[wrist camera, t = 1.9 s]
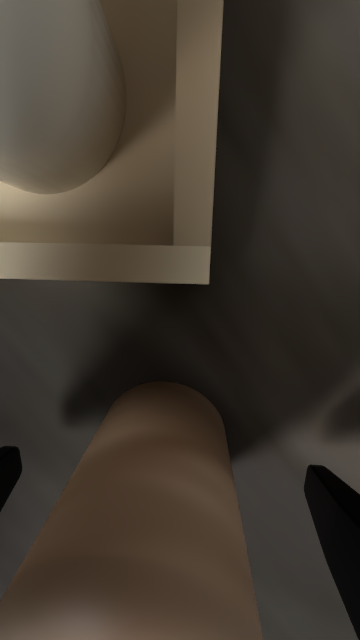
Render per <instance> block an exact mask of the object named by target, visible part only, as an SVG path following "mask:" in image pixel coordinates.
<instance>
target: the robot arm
mask: <svg viewBox="0 0 360 640" xmlns="http://www.w3.org/2000/svg"><path fill="white" fill-rule="evenodd" d="M21 472H22V463H21V457H20V451H19V448H18V447H16V446H3V447H1V448H0V512H1V510H2V508H3V506H4V504H5V503H6V501H7V499H8V497H9V495H10V494H11V492H12V490H13V488H14V486H15V485H16V483H17V481H18V479H19V477H20V475H21ZM304 492H305V497H306V500H307V503H308V506H309V509H310V512H311V515H312V518H313V522H314V525H315V528H316V531H317V534H318V537H319V540H320V544H321V547H322V550H323V553H324V556H325V558H326V561H327V564H328V566H329V569H330V571H331V574H332V576H333V579H334V581H335V584H336V586H337V588H338V591H339V593H340V596H341V598H342V601H343V603H344V605H345V608H346V610H347V613H348V615H349V618H350V620H351V622H352V625H353V627H354V630H355V632H356V635H357V637H358V639H359V640H360V494H358V493H357V492H356V491H355V490H353V489H352V488H351V487H350V486H348V485H347V484H346V483H345V482H344V481H342V480H341V479H340V478H339V477H337V476H336V475H335V474H334V473H332V472H331V471H330V470H329V469H327V468H326V467H325V466H322V465H309V466H308V468H307V473H306V478H305V484H304Z"/></svg>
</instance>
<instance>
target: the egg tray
mask: <svg viewBox="0 0 360 640" xmlns="http://www.w3.org/2000/svg"><path fill="white" fill-rule="evenodd" d="M223 1H224V0H100V3H101V6H102V8H103V11H104V14H105V17H106V20H107V22H108V25H109V28H110V31H111V33H112V36H113V39H114V42H115V44H116V47H117V50H118V53H119V56H120V60H121V63H122V67H123V72H124V77H125V87H126V110H125V117H124V123H123V127H122V131H121V135H120V138H119V140H118V143H117V145H116V148H115V149H114V151H113V153H112V155H111V157H110V158H109V160H108V161H107V163H106V164H105V165H104V167H103V168H102V169H101V170H100V171H99V172H98V173H97V174H96V175H95V176H94V177H93V178H92V179H90V180H89V181H88V182H86V183H85V184H83V185H81V186H79V187H78V188H75V189H73V190H70V191H67V192H63V193H59V194H47V195H46V194H35V193H31V192H26V191H23V190H21V189H18V188H15V187H13V186H10V185H8V184H5V183H3V182H0V278H4V279H39V280H73V281H108V282H143V283H178V284H209V273H210V254H211V234H212V215H213V195H214V176H215V157H216V137H217V118H218V98H219V79H220V60H221V40H222V21H223Z"/></svg>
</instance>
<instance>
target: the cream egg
mask: <svg viewBox="0 0 360 640" xmlns="http://www.w3.org/2000/svg"><path fill="white" fill-rule="evenodd" d="M125 110H126V87H125V77H124V72H123V67H122V63H121V60H120V56H119V53H118V50H117V47H116V44H115V42H114V39H113V36H112V33H111V31H110V28H109V25H108V22H107V20H106V17H105V14H104V11H103V8H102V6H101V3H100V0H0V182H3V183H5V184H8V185H10V186H13V187H15V188H18V189H21V190H23V191H26V192H31V193H35V194H46V195H47V194H59V193H63V192H67V191H70V190H73V189H75V188H78V187H79V186H81V185H83V184H85V183H86V182H88V181H89V180H90V179H92V178H93V177H94V176H95V175H96V174H97V173H98V172H99V171H100V170H101V169H102V168H103V167H104V165H105V164H106V163H107V161H108V160H109V158H110V157H111V155H112V153H113V151H114V149H115V148H116V145H117V143H118V140H119V138H120V135H121V131H122V127H123V123H124V117H125Z"/></svg>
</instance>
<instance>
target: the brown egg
mask: <svg viewBox="0 0 360 640" xmlns="http://www.w3.org/2000/svg"><path fill="white" fill-rule="evenodd" d="M0 640H263V636H262V631H261V626H260V620H259V615H258V609H257V604H256V598H255V593H254V587H253V582H252V576H251V571H250V565H249V560H248V554H247V549H246V543H245V538H244V532H243V527H242V521H241V516H240V510H239V505H238V499H237V494H236V488H235V483H234V477H233V472H232V466H231V461H230V455H229V450H228V444H227V439H226V433H225V428H224V424H223V421H222V418H221V416H220V414H219V412H218V411H217V409H216V408H215V406H214V405H213V404H212V403H211V402H210V401H209V400H208V399H207V398H206V397H205V396H204V395H202V394H201V393H199V392H198V391H196V390H194V389H192V388H190V387H188V386H185V385H182V384H178V383H174V382H166V381H155V382H148V383H144V384H140V385H138V386H135V387H133V388H131V389H129V390H127V391H126V392H124V393H123V394H122V395H120V396H119V397H118V398H117V399H116V400H115V402H114V403H113V404H112V406H111V407H110V409H109V411H108V412H107V414H106V416H105V418H104V419H103V421H102V423H101V425H100V427H99V428H98V430H97V432H96V434H95V435H94V437H93V439H92V441H91V442H90V444H89V446H88V448H87V449H86V451H85V453H84V455H83V456H82V458H81V460H80V462H79V464H78V465H77V467H76V469H75V471H74V472H73V474H72V476H71V478H70V479H69V481H68V483H67V485H66V486H65V488H64V490H63V492H62V494H61V495H60V497H59V499H58V501H57V502H56V504H55V506H54V508H53V509H52V511H51V513H50V515H49V516H48V518H47V520H46V522H45V524H44V525H43V527H42V529H41V531H40V532H39V534H38V536H37V538H36V539H35V541H34V543H33V545H32V546H31V548H30V550H29V552H28V553H27V555H26V557H25V559H24V561H23V562H22V564H21V566H20V568H19V569H18V571H17V573H16V575H15V576H14V578H13V580H12V582H11V583H10V585H9V587H8V589H7V591H6V592H5V594H4V596H3V598H2V600H1V602H0Z"/></svg>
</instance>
